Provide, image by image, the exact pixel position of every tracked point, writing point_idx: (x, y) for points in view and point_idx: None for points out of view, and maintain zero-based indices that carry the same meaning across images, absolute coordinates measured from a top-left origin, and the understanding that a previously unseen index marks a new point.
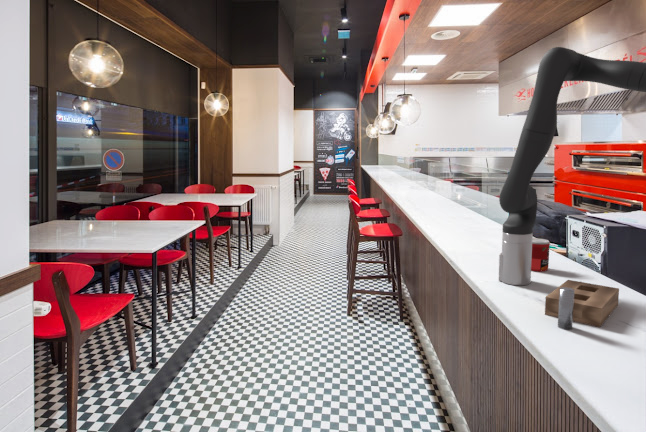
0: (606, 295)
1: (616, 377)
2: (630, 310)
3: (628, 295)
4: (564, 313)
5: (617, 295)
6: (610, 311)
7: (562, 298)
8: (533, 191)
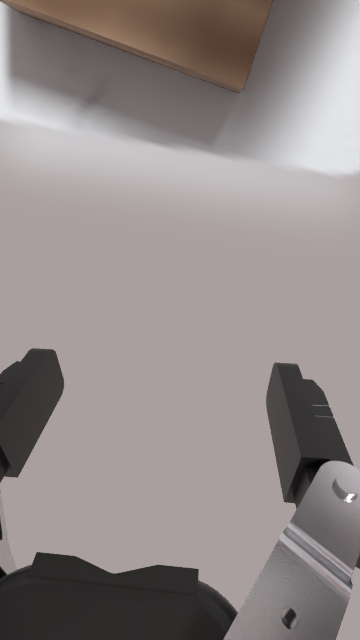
0: (139, 26)
1: None
2: (204, 126)
3: (348, 141)
4: None
5: (223, 83)
6: (139, 55)
7: None
8: None
